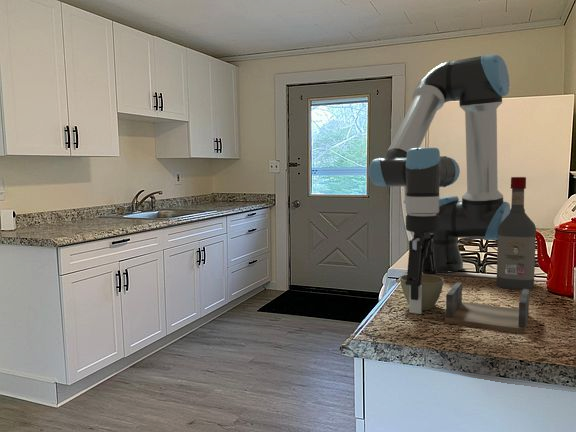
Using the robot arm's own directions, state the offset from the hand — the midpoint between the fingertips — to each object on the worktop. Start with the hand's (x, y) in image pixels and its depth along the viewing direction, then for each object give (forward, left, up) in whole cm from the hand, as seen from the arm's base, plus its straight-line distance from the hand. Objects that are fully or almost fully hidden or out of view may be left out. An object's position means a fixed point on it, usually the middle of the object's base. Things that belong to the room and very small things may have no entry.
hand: (421, 306), depth 114 cm
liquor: (-31, +18, 0) cm, 36 cm away
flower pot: (0, 0, 0) cm, 0 cm away
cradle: (+2, +15, 0) cm, 15 cm away
